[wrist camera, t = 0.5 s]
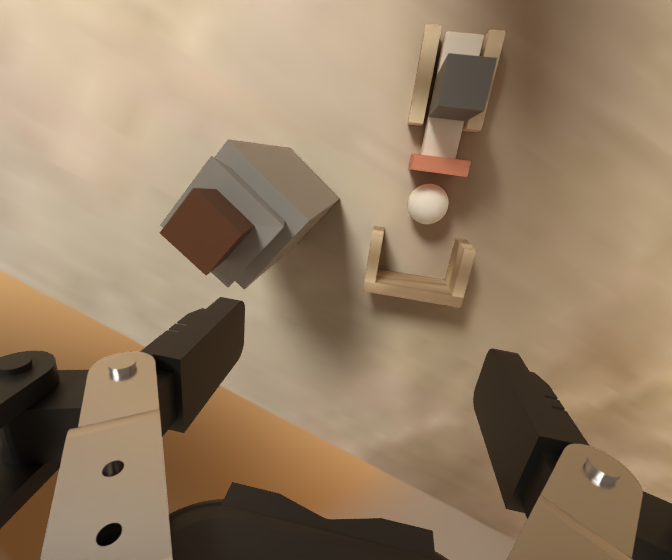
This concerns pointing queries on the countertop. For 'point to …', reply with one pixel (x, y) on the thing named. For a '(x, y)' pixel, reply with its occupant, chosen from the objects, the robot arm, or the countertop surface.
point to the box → (419, 286)
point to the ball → (428, 203)
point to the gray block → (454, 102)
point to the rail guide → (426, 66)
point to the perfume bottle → (246, 210)
